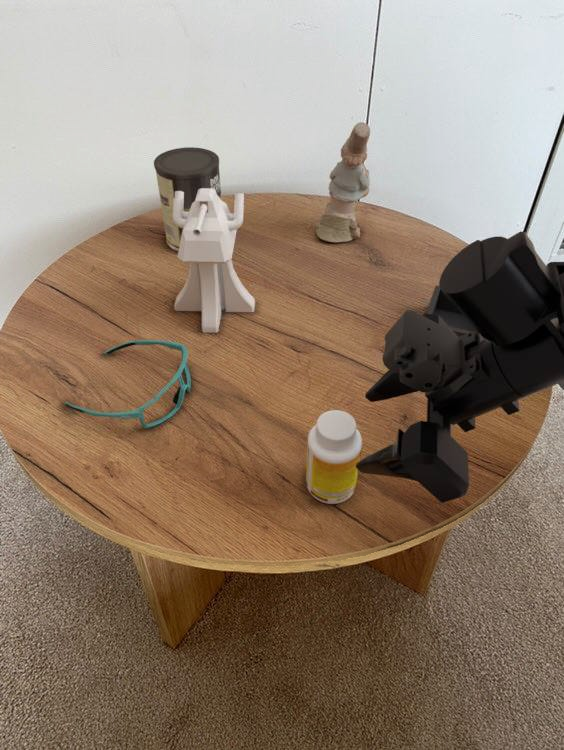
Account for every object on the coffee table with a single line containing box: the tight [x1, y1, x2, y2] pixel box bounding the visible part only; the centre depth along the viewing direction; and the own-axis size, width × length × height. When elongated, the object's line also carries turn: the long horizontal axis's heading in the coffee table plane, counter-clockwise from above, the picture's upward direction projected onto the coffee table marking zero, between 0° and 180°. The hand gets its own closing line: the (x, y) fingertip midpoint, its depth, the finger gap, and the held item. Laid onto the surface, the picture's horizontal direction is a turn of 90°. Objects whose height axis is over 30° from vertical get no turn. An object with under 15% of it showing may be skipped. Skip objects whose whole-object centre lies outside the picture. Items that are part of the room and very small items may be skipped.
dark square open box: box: [425, 284, 478, 337], centre depth 82 cm, size 10×10×4 cm
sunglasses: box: [64, 339, 192, 429], centre depth 74 cm, size 14×15×5 cm
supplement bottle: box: [305, 409, 363, 505], centre depth 61 cm, size 6×6×10 cm
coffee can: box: [153, 146, 222, 253], centre depth 97 cm, size 10×10×14 cm
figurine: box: [314, 122, 371, 243], centre depth 96 cm, size 9×8×20 cm
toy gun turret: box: [173, 188, 256, 334], centre depth 81 cm, size 12×13×18 cm
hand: (363, 431), depth 57 cm, fingers open, 9 cm apart
